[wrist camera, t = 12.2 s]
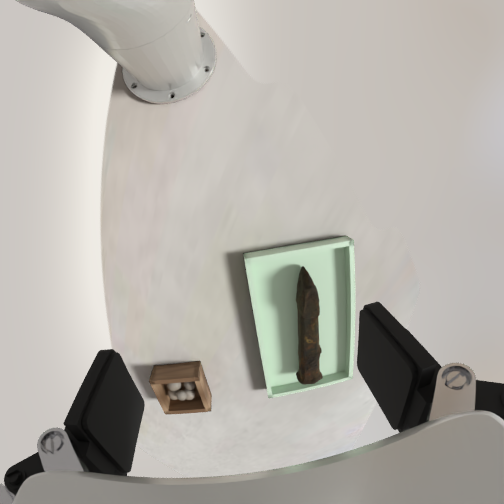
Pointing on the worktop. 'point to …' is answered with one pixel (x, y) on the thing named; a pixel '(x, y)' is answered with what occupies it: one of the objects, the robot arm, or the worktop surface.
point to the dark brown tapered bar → (308, 329)
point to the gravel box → (181, 388)
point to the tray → (286, 313)
